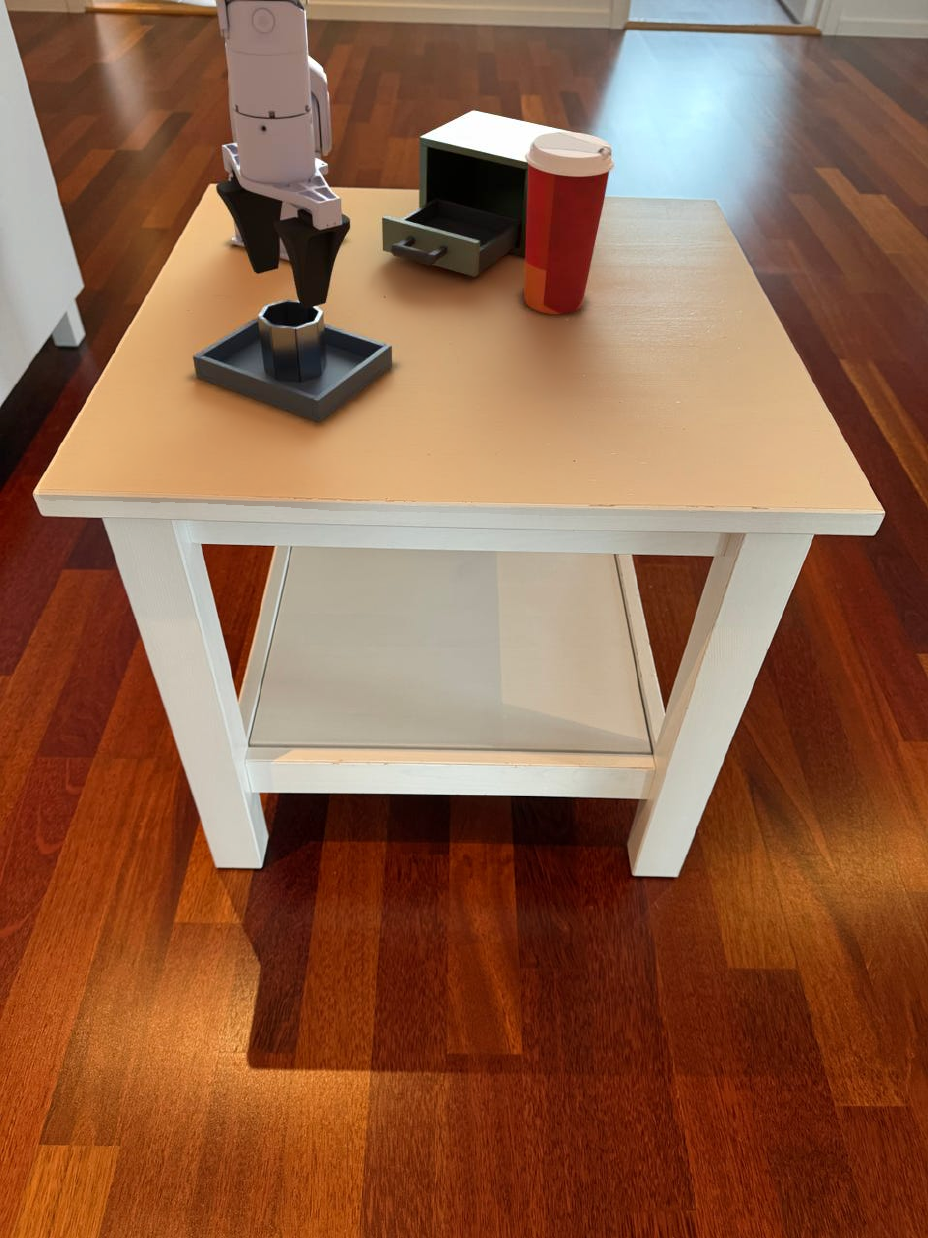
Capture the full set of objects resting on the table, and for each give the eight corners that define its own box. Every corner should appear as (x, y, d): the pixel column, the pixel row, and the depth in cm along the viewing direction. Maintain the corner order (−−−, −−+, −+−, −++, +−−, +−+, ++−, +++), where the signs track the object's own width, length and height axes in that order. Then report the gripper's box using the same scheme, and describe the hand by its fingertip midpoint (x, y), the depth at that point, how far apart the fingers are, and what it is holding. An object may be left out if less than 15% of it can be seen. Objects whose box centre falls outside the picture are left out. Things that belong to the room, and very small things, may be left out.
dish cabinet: (418, 228, 106) (419, 136, 99) (469, 197, 114) (473, 109, 107) (526, 257, 102) (535, 163, 95) (571, 223, 109) (582, 133, 102)
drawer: (363, 262, 97) (362, 228, 94) (435, 218, 106) (435, 186, 103) (457, 290, 93) (459, 255, 90) (522, 242, 102) (525, 209, 100)
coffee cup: (603, 294, 96) (628, 139, 85) (577, 326, 90) (599, 165, 80) (529, 276, 98) (544, 123, 88) (499, 307, 93) (511, 147, 82)
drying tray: (196, 377, 80) (192, 355, 79) (275, 327, 88) (273, 306, 86) (319, 423, 76) (317, 400, 75) (392, 366, 83) (392, 345, 82)
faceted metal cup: (255, 362, 82) (248, 309, 78) (305, 346, 84) (301, 294, 81) (285, 387, 79) (279, 333, 75) (336, 370, 81) (333, 317, 78)
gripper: (374, 125, 65) (378, 307, 74) (270, 74, 73) (286, 245, 82) (287, 142, 62) (303, 330, 71) (188, 87, 69) (214, 263, 79)
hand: (289, 286), depth 76 cm, fingers open, 7 cm apart
